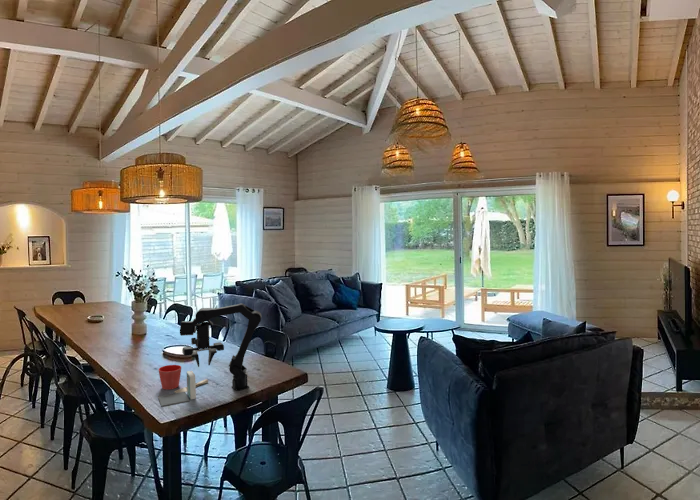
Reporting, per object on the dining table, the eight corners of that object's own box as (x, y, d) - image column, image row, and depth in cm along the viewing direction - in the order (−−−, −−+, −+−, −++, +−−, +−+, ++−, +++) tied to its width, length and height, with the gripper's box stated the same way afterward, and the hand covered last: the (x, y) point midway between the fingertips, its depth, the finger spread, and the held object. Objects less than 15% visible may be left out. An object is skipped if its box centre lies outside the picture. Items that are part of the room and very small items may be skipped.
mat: (185, 392, 214) (185, 391, 214) (189, 401, 203) (189, 400, 203) (158, 397, 208) (158, 396, 208) (161, 407, 198) (161, 405, 198)
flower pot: (185, 382, 227) (184, 364, 227) (177, 390, 216) (176, 371, 216) (164, 383, 227) (163, 364, 226) (155, 391, 216) (154, 371, 215)
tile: (192, 392, 214) (192, 370, 213) (195, 398, 207) (195, 375, 206) (187, 394, 212) (186, 371, 212) (190, 399, 206) (189, 376, 205)
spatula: (204, 380, 229) (204, 378, 229) (210, 382, 226) (210, 380, 226) (174, 392, 215) (174, 390, 214) (179, 395, 212) (179, 393, 212)
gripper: (218, 328, 227) (219, 358, 228) (180, 333, 218) (180, 364, 219) (223, 333, 218) (224, 364, 219) (183, 338, 208) (184, 371, 209)
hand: (203, 366), depth 217 cm, fingers open, 5 cm apart
